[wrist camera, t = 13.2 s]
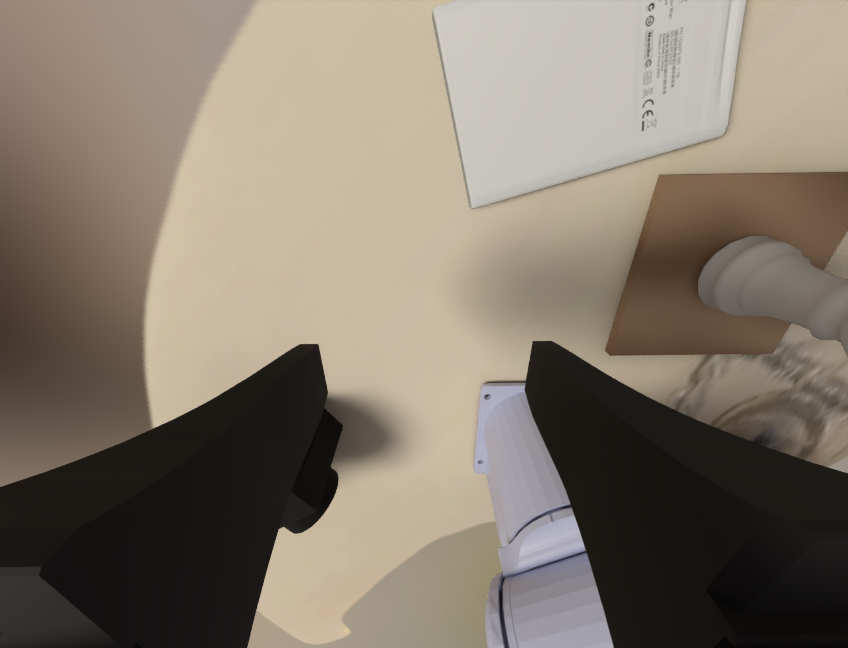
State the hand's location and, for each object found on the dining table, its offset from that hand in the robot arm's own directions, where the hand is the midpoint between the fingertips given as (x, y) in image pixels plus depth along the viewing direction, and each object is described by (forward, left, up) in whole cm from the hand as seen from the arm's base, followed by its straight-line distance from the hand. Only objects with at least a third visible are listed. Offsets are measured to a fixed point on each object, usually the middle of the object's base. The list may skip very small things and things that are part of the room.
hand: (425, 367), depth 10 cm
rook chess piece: (0, -18, -9) cm, 20 cm away
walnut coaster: (0, -18, -9) cm, 20 cm away
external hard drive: (+10, -8, -10) cm, 16 cm away
